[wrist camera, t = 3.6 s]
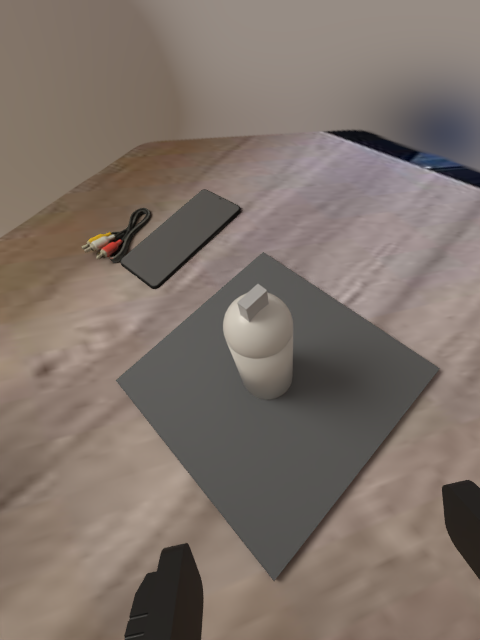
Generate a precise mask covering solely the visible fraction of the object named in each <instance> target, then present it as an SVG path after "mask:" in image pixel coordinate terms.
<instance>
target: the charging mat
mask: <svg viewBox="0 0 480 640" xmlns="http://www.w3.org/2000/svg"><path fill="white" fill-rule="evenodd" d="M257 284H259V285H260V286H262V287H263V288H265V289H266V290H267V293H270V294H273V295H275V296H276V297H278V298H279V299H281V300H282V301H283V302H284V303H285V304H286V306H287V307H288V309H289V311H290V313H291V316H292V319H293V377H292V382H291V385H290V387H289V389H288V390H287V391H286V392H285V393H284V394H283V395H282V396H280V397H278V398H275V399H270V400H264V399H260V398H257V397H255V396H253V395H252V394H251V393H249V391H248V390H247V389H246V387H245V385H244V383H243V381H242V378H241V376H240V373H239V371H238V369H237V366H236V364H235V361H234V359H233V356H232V354H231V352H230V349H229V347H228V344H227V342H226V339H225V336H224V332H223V321H224V316H225V313H226V311H227V309H228V308H229V306H230V305H231V303H232V302H233V301H234V300H236V299H237V298H238V297H240V296H241V295H244V294H246V293H248V292H249V291H250V290H251V289H252V288H253V287H255V286H256V285H257ZM439 369H440V368H438V367H437V366H435V365H434V364H432V363H431V362H429V361H428V360H426V359H425V358H423V357H422V356H420V355H419V354H417V353H416V352H414V351H412V350H411V349H409V348H408V347H406V346H405V345H403V344H402V343H400V342H399V341H397V340H396V339H394V338H393V337H391V336H390V335H388V334H387V333H385V332H384V331H382V330H381V329H379V328H378V327H376V326H375V325H373V324H372V323H370V322H368V321H367V320H365V319H364V318H362V317H361V316H359V315H358V314H356V313H355V312H353V311H352V310H350V309H349V308H347V307H346V306H344V305H343V304H341V303H340V302H338V301H337V300H335V299H334V298H332V297H331V296H329V295H328V294H326V293H324V292H323V291H321V290H320V289H318V288H317V287H315V286H314V285H312V284H311V283H309V282H308V281H306V280H305V279H303V278H302V277H300V276H299V275H297V274H296V273H294V272H293V271H291V270H290V269H288V268H287V267H285V266H284V265H282V264H280V263H279V262H277V261H276V260H274V259H273V258H271V257H270V256H268V255H267V254H265V253H264V252H263V253H262V254H260V255H259V256H258V257H257V258H256V259H255V260H253V261H252V262H251V263H250V264H249V265H248V266H247V267H245V268H244V269H243V270H242V271H241V272H240V273H239V274H237V275H236V276H235V277H234V278H233V279H232V280H231V281H229V282H228V283H227V284H226V285H225V286H224V287H222V288H221V289H220V290H219V291H218V292H217V293H216V294H214V295H213V296H212V297H211V298H210V299H209V300H208V301H206V302H205V303H204V304H203V305H202V306H201V307H200V308H198V309H197V310H196V311H195V312H194V313H193V314H191V315H190V316H189V317H188V318H187V319H186V320H185V321H183V322H182V323H181V324H180V325H179V326H178V327H177V328H175V329H174V330H173V331H172V332H171V333H170V334H169V335H167V336H166V337H165V338H164V339H163V340H162V341H161V342H159V343H158V344H157V345H156V346H155V347H154V348H152V349H151V350H150V351H149V352H148V353H147V354H146V355H144V356H143V357H142V358H141V359H140V360H139V361H138V362H136V363H135V364H134V365H133V366H132V367H131V368H130V369H128V370H127V371H126V372H125V373H124V374H123V375H121V376H120V377H119V378H118V379H117V380H116V381H117V382H118V384H119V385H120V386H121V388H122V389H123V390H124V391H125V393H126V394H127V395H128V396H129V398H130V399H131V400H132V401H133V403H134V404H135V405H136V407H137V408H138V409H139V410H140V412H141V413H142V414H143V415H144V417H145V418H146V419H147V421H148V422H149V423H150V424H151V426H152V427H153V428H154V429H155V431H156V432H157V433H158V435H159V436H160V437H161V438H162V440H163V441H164V442H165V443H166V445H167V446H168V447H169V448H170V450H171V451H172V452H173V454H174V455H175V456H176V457H177V459H178V460H179V461H180V462H181V464H182V465H183V466H184V468H185V469H186V470H187V471H188V473H189V474H190V475H191V476H192V478H193V479H194V480H195V482H196V483H197V484H198V485H199V487H200V488H201V489H202V490H203V492H204V493H205V494H206V495H207V497H208V498H209V499H210V501H211V502H212V503H213V504H214V506H215V507H216V508H217V509H218V511H219V512H220V513H221V515H222V516H223V517H224V518H225V520H226V521H227V522H228V523H229V525H230V526H231V527H232V529H233V530H234V531H235V532H236V534H237V535H238V536H239V537H240V539H241V540H242V541H243V542H244V544H245V545H246V546H247V548H248V549H249V550H250V551H251V553H252V554H253V555H254V556H255V558H256V559H257V560H258V562H259V563H260V564H261V565H262V567H263V568H264V569H265V570H266V572H267V573H268V574H269V576H270V577H271V578H272V579H273V581H275V579H276V578H277V577H278V575H279V574H280V573H281V572H282V570H283V569H284V568H285V566H286V565H287V564H288V563H289V561H290V560H291V559H292V557H293V556H294V555H295V554H296V552H297V551H298V550H299V548H300V547H301V546H302V545H303V543H304V542H305V541H306V539H307V538H308V537H309V536H310V534H311V533H312V532H313V531H314V529H315V528H316V527H317V525H318V524H319V523H320V522H321V520H322V519H323V518H324V516H325V515H326V514H327V513H328V511H329V510H330V509H331V507H332V506H333V505H334V504H335V502H336V501H337V500H338V498H339V497H340V496H341V495H342V493H343V492H344V491H345V489H346V488H347V487H348V486H349V484H350V483H351V482H352V480H353V479H354V478H355V477H356V475H357V474H358V473H359V471H360V470H361V469H362V468H363V466H364V465H365V464H366V462H367V461H368V460H369V459H370V457H371V456H372V455H373V453H374V452H375V451H376V450H377V448H378V447H379V446H380V444H381V443H382V442H383V441H384V439H385V438H386V437H387V435H388V434H389V433H390V432H391V430H392V429H393V428H394V426H395V425H396V424H397V423H398V421H399V420H400V419H401V417H402V416H403V415H404V414H405V412H406V411H407V410H408V408H409V407H410V406H411V405H412V403H413V402H414V401H415V400H416V398H417V397H418V396H419V394H420V393H421V392H422V391H423V389H424V388H425V387H426V385H427V384H428V383H429V382H430V380H431V379H432V378H433V376H434V375H435V374H436V373H437V371H438V370H439Z"/></svg>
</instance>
